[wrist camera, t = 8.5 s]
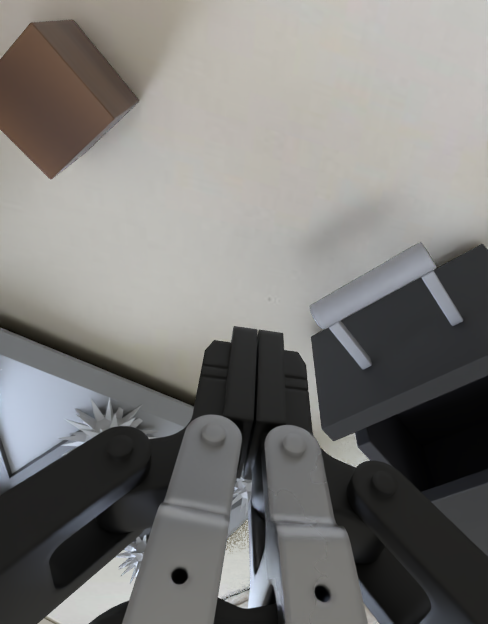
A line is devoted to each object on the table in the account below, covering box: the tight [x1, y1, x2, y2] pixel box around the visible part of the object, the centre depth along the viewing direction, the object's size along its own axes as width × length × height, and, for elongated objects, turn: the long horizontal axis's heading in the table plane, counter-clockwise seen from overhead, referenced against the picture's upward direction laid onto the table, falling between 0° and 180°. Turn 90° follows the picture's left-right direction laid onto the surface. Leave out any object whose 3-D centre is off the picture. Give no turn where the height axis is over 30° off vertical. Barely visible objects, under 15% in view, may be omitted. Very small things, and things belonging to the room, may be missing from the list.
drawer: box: [310, 242, 488, 492], centre depth 26 cm, size 18×11×8 cm, turn 38°
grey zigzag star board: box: [0, 328, 252, 583], centre depth 36 cm, size 30×22×7 cm
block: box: [0, 20, 139, 179], centre depth 21 cm, size 4×4×4 cm
